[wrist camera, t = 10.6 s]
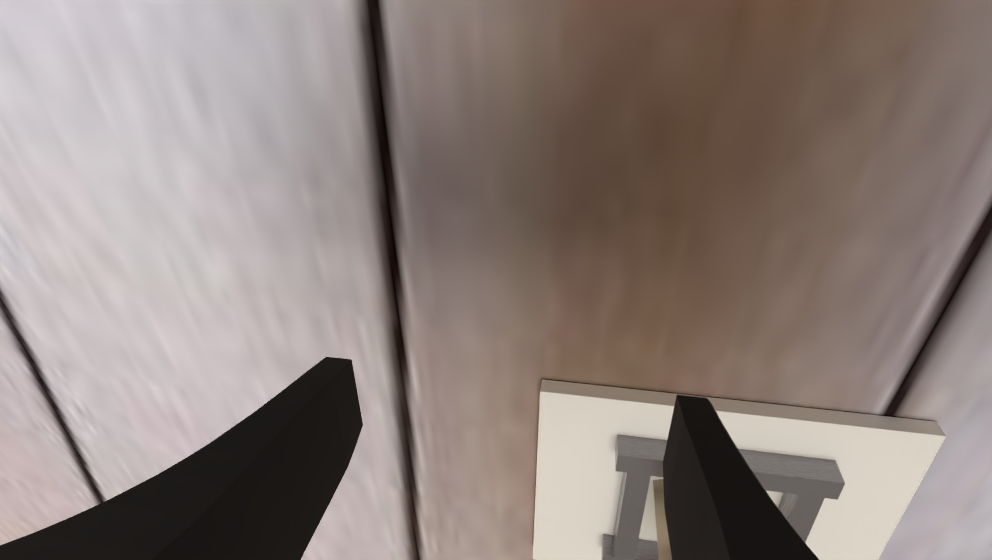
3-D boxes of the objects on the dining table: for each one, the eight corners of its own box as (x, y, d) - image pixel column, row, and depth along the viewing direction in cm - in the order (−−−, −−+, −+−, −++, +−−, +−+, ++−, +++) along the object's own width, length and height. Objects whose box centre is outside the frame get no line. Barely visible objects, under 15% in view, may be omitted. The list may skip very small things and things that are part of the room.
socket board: (936, 421, 23) (961, 460, 22) (845, 592, 30) (859, 632, 28) (542, 379, 26) (537, 410, 24) (534, 545, 32) (530, 580, 30)
